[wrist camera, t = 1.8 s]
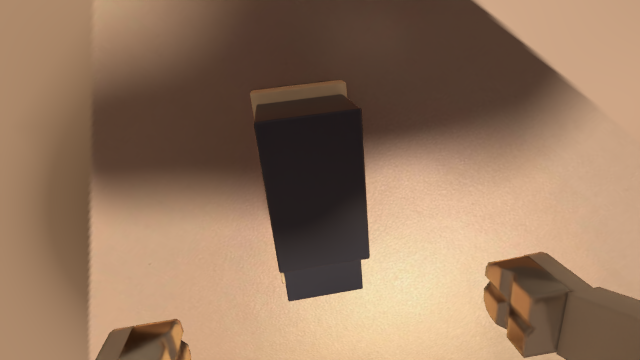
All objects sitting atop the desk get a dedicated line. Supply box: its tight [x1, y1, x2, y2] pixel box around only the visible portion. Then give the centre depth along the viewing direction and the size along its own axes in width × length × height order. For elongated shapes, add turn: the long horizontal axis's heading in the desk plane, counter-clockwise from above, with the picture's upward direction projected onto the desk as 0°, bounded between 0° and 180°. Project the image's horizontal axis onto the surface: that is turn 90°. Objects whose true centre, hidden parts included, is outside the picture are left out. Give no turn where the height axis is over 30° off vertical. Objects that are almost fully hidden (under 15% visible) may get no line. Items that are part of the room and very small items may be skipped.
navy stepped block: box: [250, 80, 370, 301], centre depth 18 cm, size 11×5×5 cm, turn 6°
